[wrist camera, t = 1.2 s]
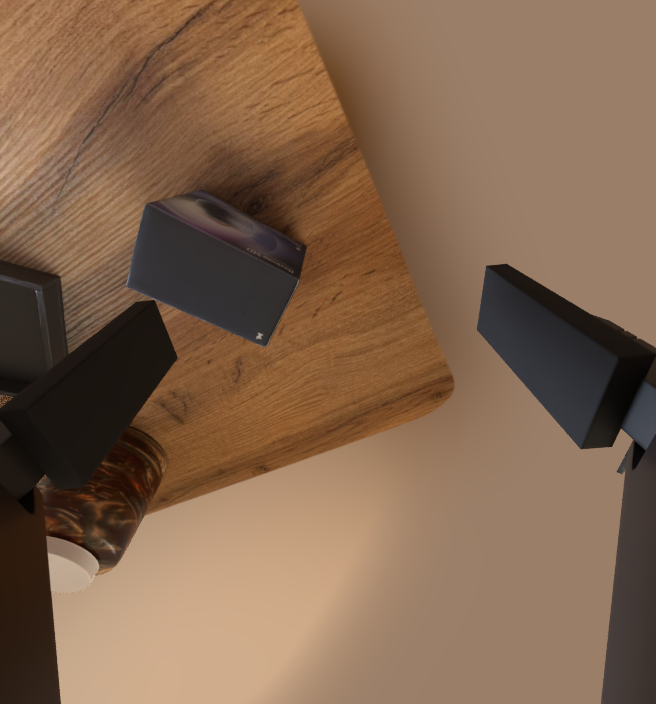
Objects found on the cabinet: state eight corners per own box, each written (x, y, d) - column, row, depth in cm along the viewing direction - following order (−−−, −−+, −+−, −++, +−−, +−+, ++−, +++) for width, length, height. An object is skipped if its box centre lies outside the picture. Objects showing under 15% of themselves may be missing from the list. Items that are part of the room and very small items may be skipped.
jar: (75, 467, 47) (-20, 586, 34) (83, 411, 41) (-26, 527, 29) (159, 490, 50) (101, 608, 37) (177, 440, 44) (116, 558, 31)
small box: (310, 242, 31) (305, 278, 22) (282, 300, 34) (267, 352, 25) (200, 183, 28) (142, 197, 19) (180, 251, 31) (122, 291, 22)
